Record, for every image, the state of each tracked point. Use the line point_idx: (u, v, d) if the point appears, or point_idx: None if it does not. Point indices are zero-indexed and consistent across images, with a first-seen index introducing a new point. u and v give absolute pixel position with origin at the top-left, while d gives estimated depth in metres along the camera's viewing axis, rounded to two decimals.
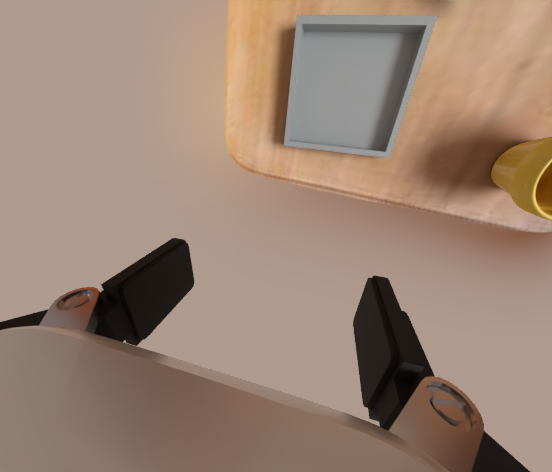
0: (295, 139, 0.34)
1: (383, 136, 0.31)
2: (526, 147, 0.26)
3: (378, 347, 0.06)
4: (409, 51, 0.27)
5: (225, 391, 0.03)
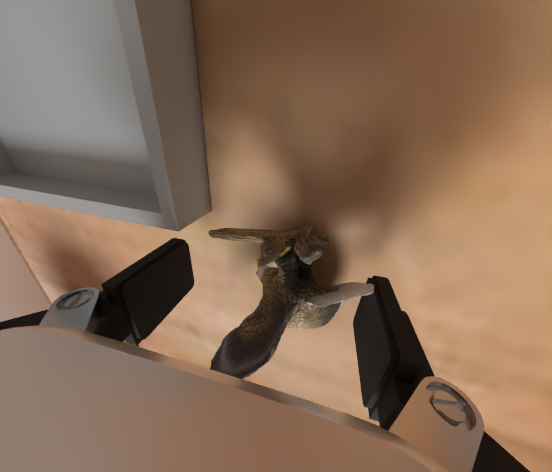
0: None
1: (35, 168, 0.14)
2: None
3: (378, 347, 0.06)
4: None
5: (225, 391, 0.03)
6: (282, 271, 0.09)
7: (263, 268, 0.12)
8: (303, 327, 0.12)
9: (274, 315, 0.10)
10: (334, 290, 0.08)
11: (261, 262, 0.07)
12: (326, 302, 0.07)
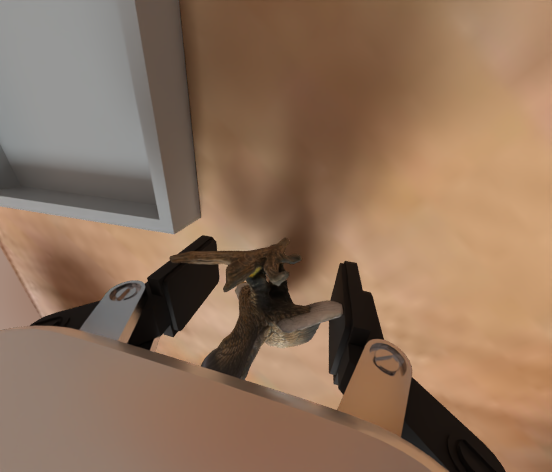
0: None
1: (38, 182, 0.15)
2: None
3: (340, 320, 0.07)
4: None
5: (225, 391, 0.03)
6: (253, 292, 0.09)
7: (241, 286, 0.12)
8: (284, 346, 0.11)
9: (249, 338, 0.09)
10: (305, 312, 0.08)
11: (225, 287, 0.07)
12: (292, 328, 0.07)
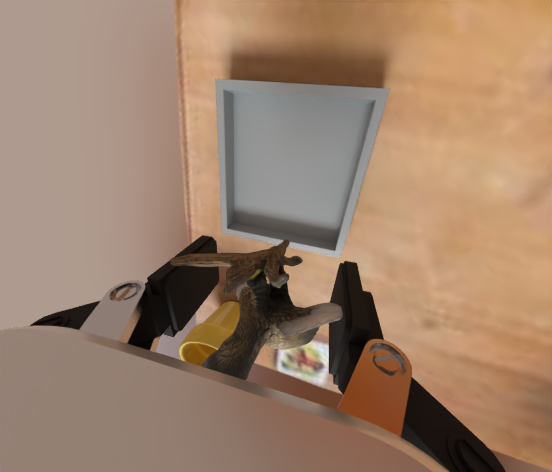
0: (235, 101, 0.21)
1: (247, 221, 0.28)
2: None
3: (340, 320, 0.07)
4: (322, 236, 0.26)
5: (225, 391, 0.03)
6: (254, 294, 0.09)
7: (241, 287, 0.12)
8: (284, 347, 0.11)
9: (249, 339, 0.09)
10: (305, 314, 0.08)
11: (225, 290, 0.07)
12: (292, 331, 0.07)
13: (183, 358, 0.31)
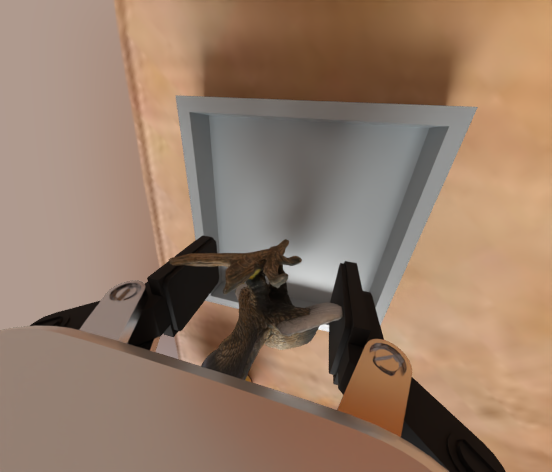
0: (213, 126, 0.14)
1: None
2: None
3: (339, 320, 0.07)
4: None
5: (225, 391, 0.03)
6: (253, 294, 0.09)
7: (241, 287, 0.12)
8: (284, 347, 0.11)
9: (249, 339, 0.09)
10: (304, 314, 0.08)
11: (224, 289, 0.07)
12: (291, 331, 0.07)
13: None
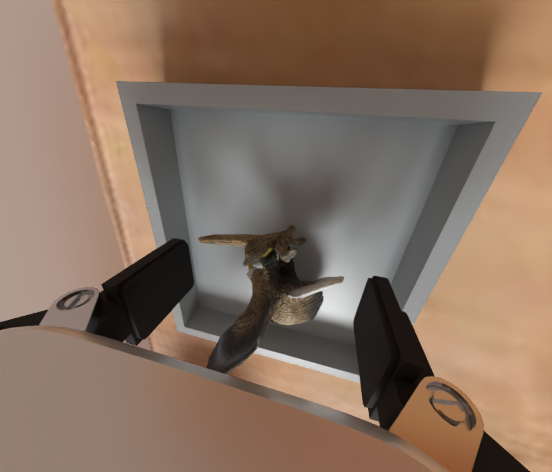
0: (176, 124, 0.11)
1: (220, 307, 0.17)
2: None
3: (378, 347, 0.06)
4: (341, 337, 0.15)
5: (225, 391, 0.03)
6: (266, 270, 0.10)
7: (252, 269, 0.13)
8: (292, 322, 0.13)
9: (262, 311, 0.11)
10: (311, 283, 0.09)
11: (244, 262, 0.09)
12: (300, 293, 0.08)
13: None
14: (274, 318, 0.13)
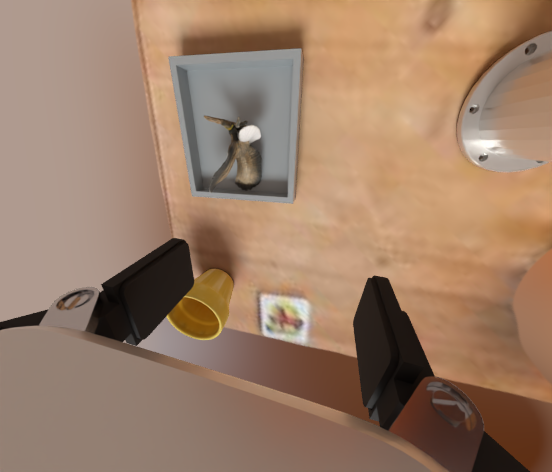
0: (189, 77, 0.26)
1: None
2: (219, 282, 0.36)
3: (378, 347, 0.06)
4: (278, 189, 0.30)
5: (225, 391, 0.03)
6: (231, 134, 0.25)
7: None
8: (248, 172, 0.27)
9: None
10: None
11: (221, 123, 0.23)
12: (241, 129, 0.23)
13: (169, 318, 0.34)
14: (241, 174, 0.28)
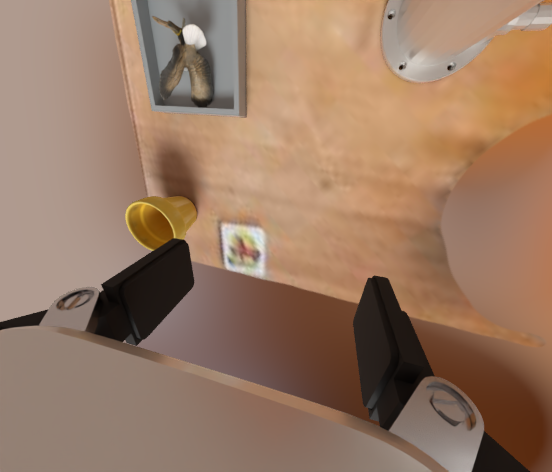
0: None
1: (174, 104, 0.34)
2: (180, 203, 0.39)
3: (378, 348, 0.06)
4: (229, 106, 0.32)
5: (225, 391, 0.03)
6: (180, 39, 0.27)
7: None
8: (199, 82, 0.30)
9: None
10: None
11: (167, 23, 0.26)
12: (183, 27, 0.25)
13: (131, 230, 0.38)
14: (193, 86, 0.30)
